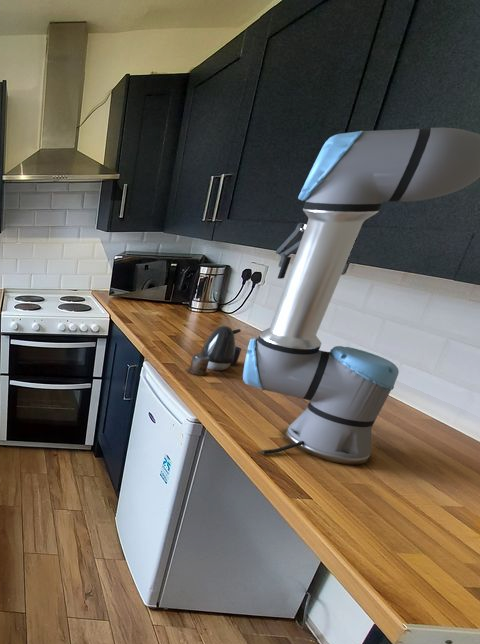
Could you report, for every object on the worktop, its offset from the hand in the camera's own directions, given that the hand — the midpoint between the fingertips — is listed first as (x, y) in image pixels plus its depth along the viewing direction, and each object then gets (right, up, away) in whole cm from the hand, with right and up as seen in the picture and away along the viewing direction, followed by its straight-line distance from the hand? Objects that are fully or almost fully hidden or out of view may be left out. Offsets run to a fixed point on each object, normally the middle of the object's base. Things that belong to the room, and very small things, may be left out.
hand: (305, 282), depth 123 cm
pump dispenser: (-17, -26, +19) cm, 36 cm away
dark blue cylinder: (-8, -24, +24) cm, 35 cm away
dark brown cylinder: (-25, -28, +14) cm, 40 cm away
